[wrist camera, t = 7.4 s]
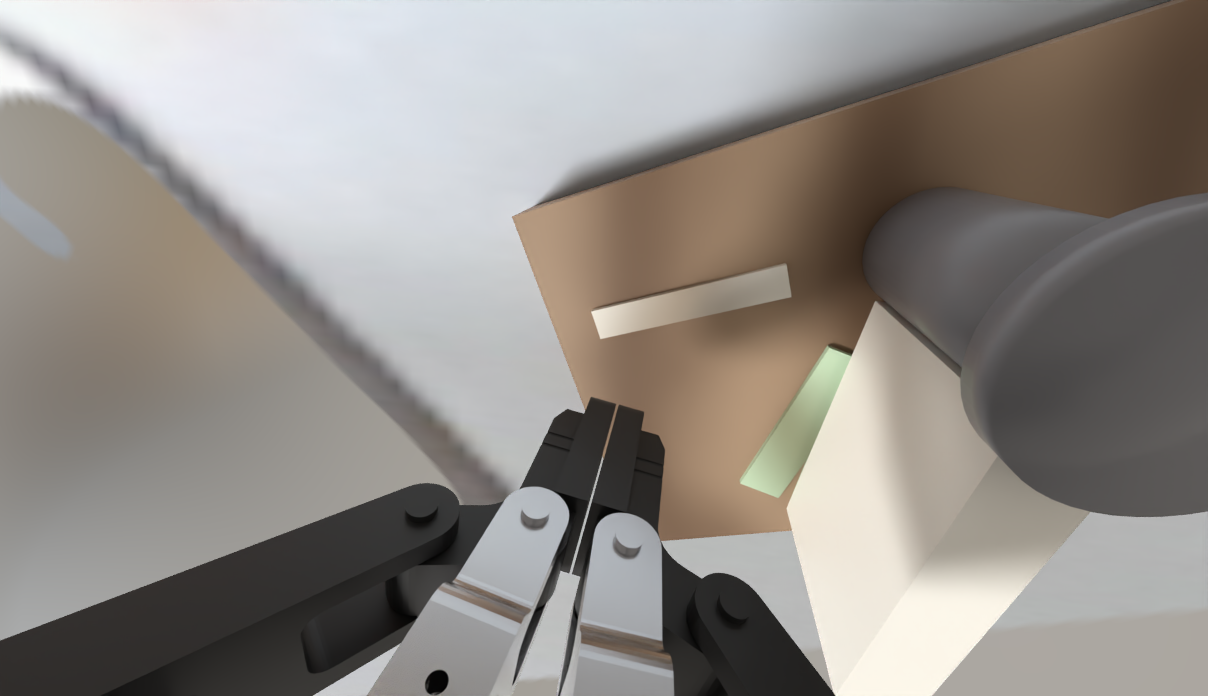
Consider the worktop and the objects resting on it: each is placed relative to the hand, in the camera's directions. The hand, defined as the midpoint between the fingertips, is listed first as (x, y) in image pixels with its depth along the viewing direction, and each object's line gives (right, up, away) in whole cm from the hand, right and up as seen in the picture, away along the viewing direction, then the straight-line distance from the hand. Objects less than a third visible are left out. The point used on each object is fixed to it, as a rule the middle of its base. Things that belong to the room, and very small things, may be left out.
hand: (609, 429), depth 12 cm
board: (+9, +3, +3) cm, 10 cm away
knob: (+8, +2, +1) cm, 8 cm away
